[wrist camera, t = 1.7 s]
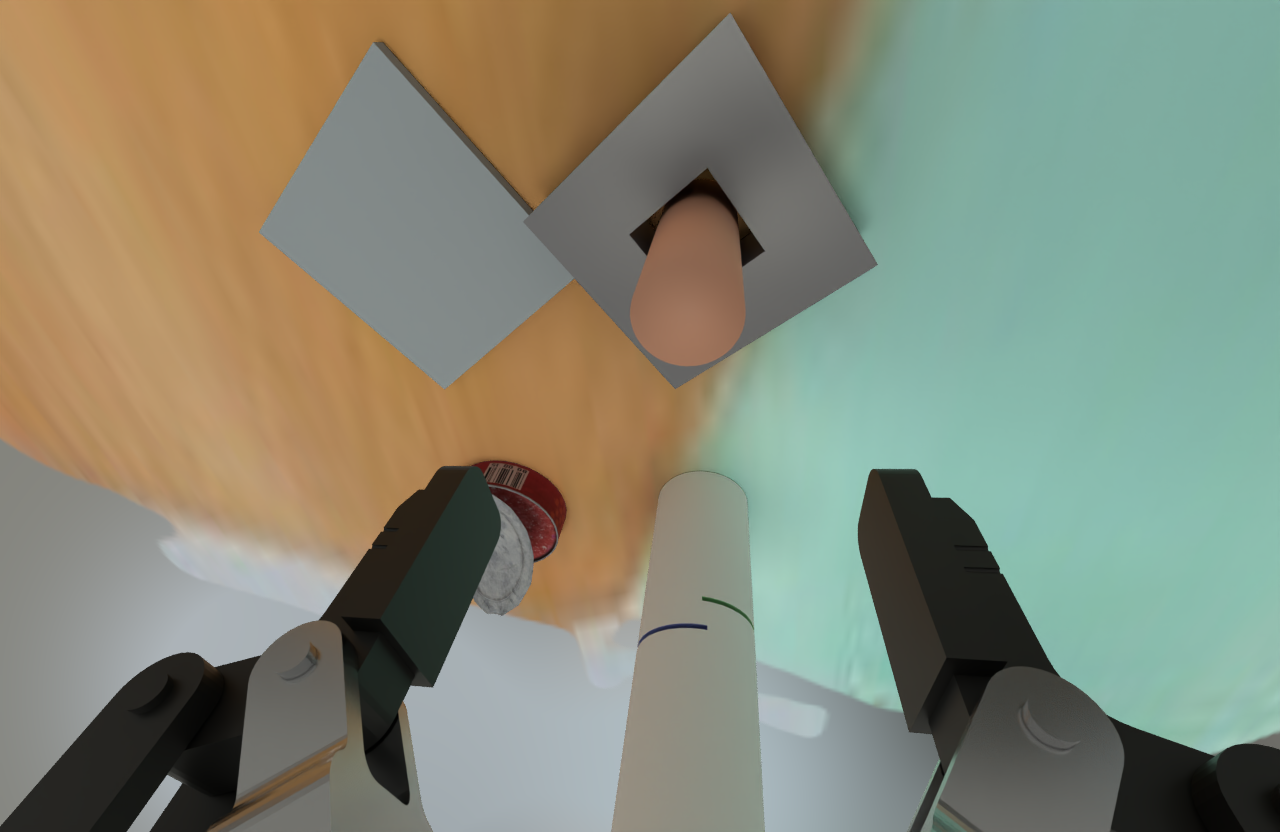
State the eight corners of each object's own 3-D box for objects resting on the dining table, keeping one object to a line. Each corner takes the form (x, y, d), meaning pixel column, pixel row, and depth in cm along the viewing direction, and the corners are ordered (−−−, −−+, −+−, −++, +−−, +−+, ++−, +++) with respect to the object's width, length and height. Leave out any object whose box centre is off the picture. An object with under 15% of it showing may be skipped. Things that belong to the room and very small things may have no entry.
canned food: (510, 496, 50) (430, 571, 44) (482, 424, 43) (382, 503, 37) (597, 549, 44) (519, 643, 39) (581, 478, 38) (482, 579, 32)
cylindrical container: (653, 471, 38) (580, 926, 19) (747, 471, 37) (775, 961, 17) (663, 531, 42) (611, 955, 23) (747, 533, 41) (770, 984, 21)
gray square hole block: (729, 16, 21) (730, 12, 18) (859, 237, 26) (877, 264, 23) (546, 200, 27) (522, 221, 24) (679, 354, 32) (675, 389, 29)
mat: (382, 42, 24) (373, 42, 23) (583, 267, 29) (580, 273, 28) (268, 228, 30) (258, 232, 30) (449, 383, 36) (444, 389, 35)
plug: (708, 161, 25) (698, 234, 15) (752, 225, 26) (768, 327, 17) (647, 212, 27) (606, 306, 17) (692, 269, 28) (676, 383, 19)
